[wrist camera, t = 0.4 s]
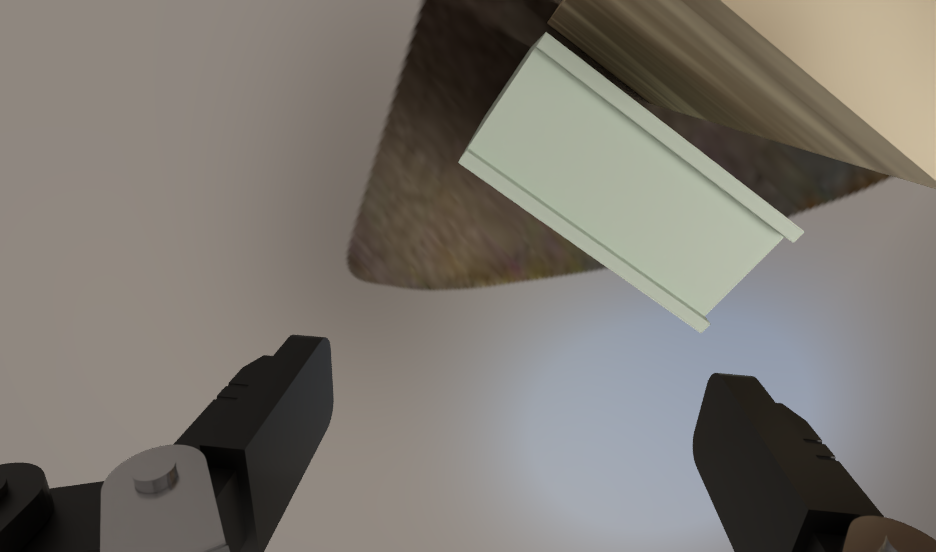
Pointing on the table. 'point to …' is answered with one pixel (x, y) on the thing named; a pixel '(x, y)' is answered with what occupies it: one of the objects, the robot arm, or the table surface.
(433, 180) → the table surface
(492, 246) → the table surface
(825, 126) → the birch bridge
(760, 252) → the pale green upright block
